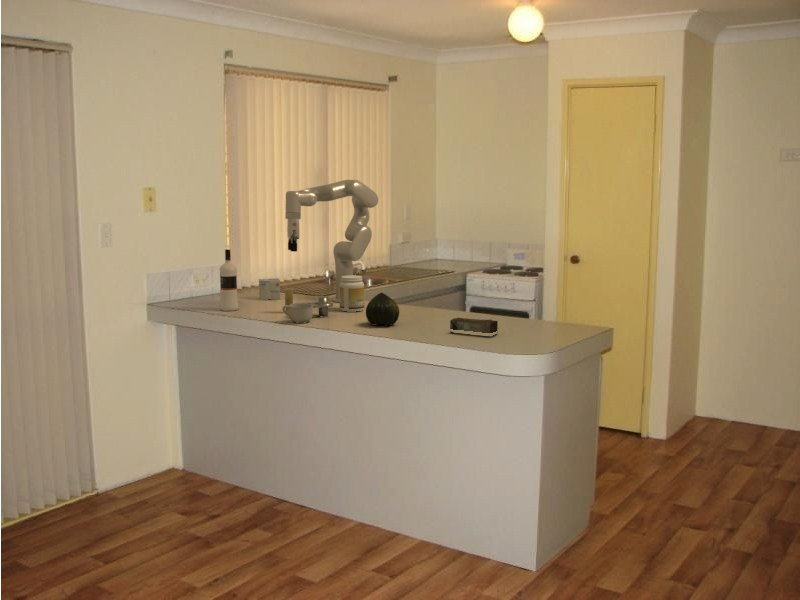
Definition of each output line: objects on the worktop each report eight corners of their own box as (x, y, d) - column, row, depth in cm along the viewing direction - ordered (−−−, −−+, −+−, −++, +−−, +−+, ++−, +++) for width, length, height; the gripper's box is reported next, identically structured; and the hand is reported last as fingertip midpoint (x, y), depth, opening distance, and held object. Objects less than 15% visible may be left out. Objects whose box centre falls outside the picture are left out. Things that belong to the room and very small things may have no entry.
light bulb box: (278, 297, 434) (278, 278, 432) (280, 299, 428) (280, 279, 426) (258, 298, 431) (258, 278, 429) (260, 300, 425) (260, 280, 423)
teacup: (316, 320, 367) (316, 303, 366) (306, 325, 357) (306, 307, 356) (289, 318, 371) (289, 302, 370) (278, 323, 361) (278, 305, 360)
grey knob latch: (330, 314, 384) (330, 295, 383) (334, 317, 375) (334, 298, 374) (294, 315, 379) (294, 297, 378) (298, 319, 370) (297, 300, 369)
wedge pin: (294, 311, 390) (293, 288, 388) (295, 313, 387) (294, 289, 385) (282, 312, 388) (282, 288, 387) (284, 313, 385) (283, 289, 384)
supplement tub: (368, 309, 398) (368, 275, 395) (357, 313, 387) (357, 278, 384) (347, 307, 403) (346, 274, 400) (335, 311, 392) (334, 277, 389)
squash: (383, 317, 345) (395, 289, 352) (355, 315, 353) (367, 287, 360) (397, 335, 355) (408, 307, 362) (369, 332, 363) (381, 305, 370)
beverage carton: (457, 330, 347) (457, 315, 346) (498, 335, 338) (498, 319, 337) (449, 333, 340) (449, 318, 339) (491, 338, 331) (491, 322, 330)
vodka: (237, 311, 391) (235, 250, 386) (218, 311, 390) (216, 250, 385) (240, 308, 400) (238, 248, 395) (221, 308, 399) (219, 248, 395)
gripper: (303, 217, 388) (302, 252, 391) (298, 215, 405) (297, 249, 407) (287, 216, 386) (287, 251, 389) (283, 215, 403) (282, 249, 405)
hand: (292, 250), depth 398 cm, fingers open, 9 cm apart
